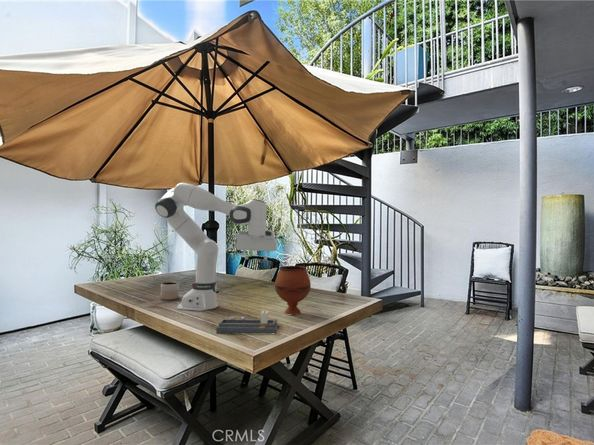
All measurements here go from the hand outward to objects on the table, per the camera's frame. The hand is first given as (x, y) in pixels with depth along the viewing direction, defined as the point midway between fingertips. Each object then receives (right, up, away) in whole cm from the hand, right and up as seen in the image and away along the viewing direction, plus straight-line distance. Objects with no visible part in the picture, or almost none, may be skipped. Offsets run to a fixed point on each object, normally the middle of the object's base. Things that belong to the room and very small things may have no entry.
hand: (256, 259), depth 167 cm
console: (-2, -30, -13) cm, 33 cm away
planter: (-60, -30, +46) cm, 81 cm away
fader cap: (+5, -28, -13) cm, 31 cm away
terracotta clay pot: (+18, -31, +14) cm, 38 cm away
